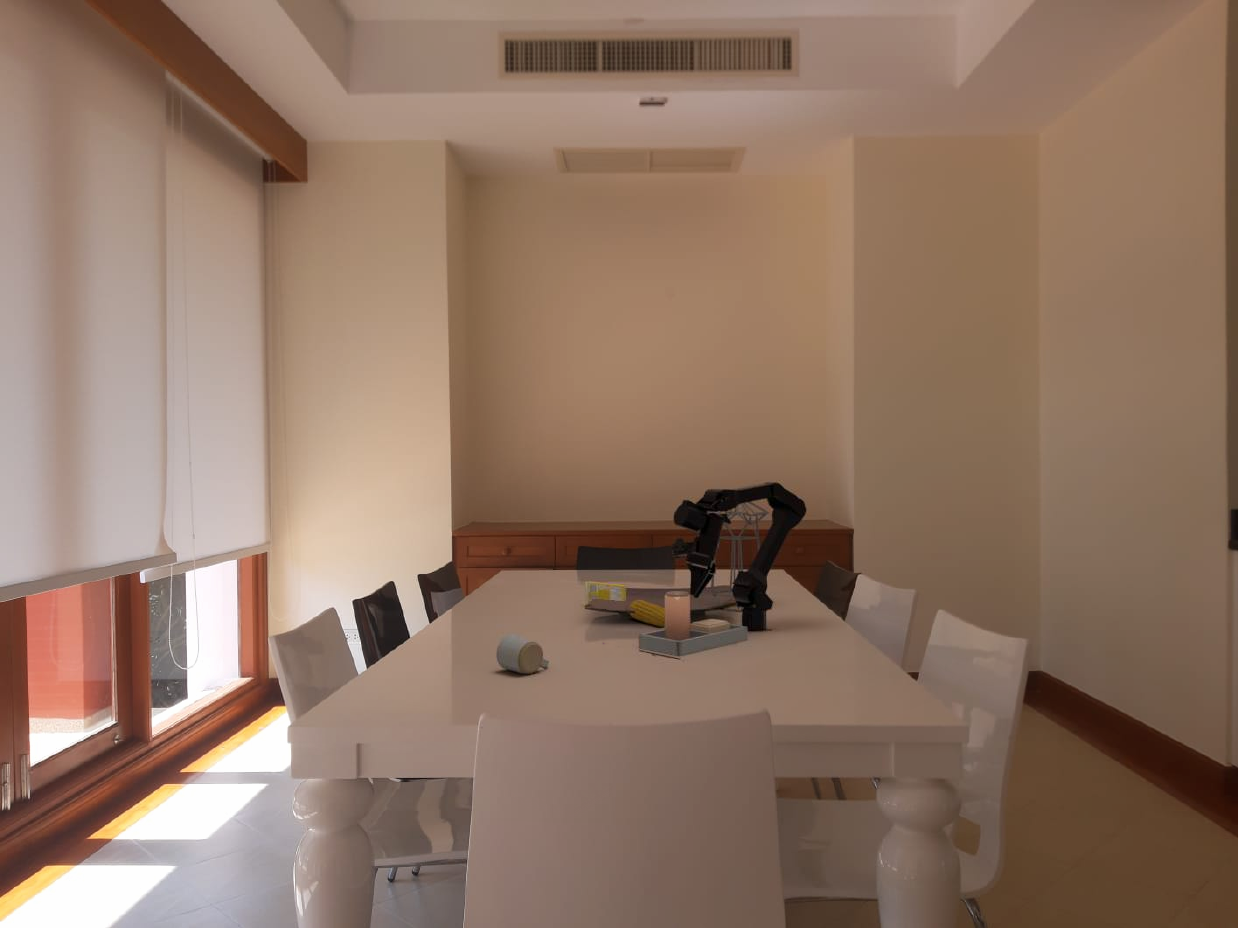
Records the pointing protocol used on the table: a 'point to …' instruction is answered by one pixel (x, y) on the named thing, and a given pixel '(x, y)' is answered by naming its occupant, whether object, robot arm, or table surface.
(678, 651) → the tray
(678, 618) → the pink beverage can
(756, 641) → the table surface
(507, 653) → the ceramic mug
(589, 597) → the candy box
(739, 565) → the geometric lantern
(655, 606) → the food
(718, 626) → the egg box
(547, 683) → the table surface
